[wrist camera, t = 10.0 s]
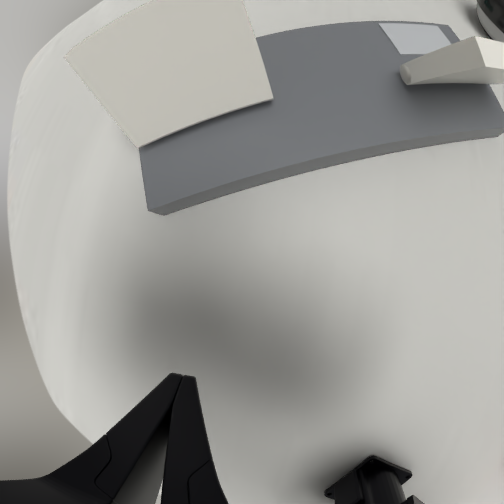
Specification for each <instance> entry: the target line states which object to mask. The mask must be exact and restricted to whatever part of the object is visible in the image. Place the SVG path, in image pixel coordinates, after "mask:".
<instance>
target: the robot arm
mask: <svg viewBox="0 0 504 504" xmlns="http://www.w3.org/2000/svg"><path fill="white" fill-rule="evenodd" d="M372 460H373V461H372ZM370 461H371V462H370ZM411 477H412V473H411V471H408V470H406V469H403V468H401V467H398V466H396V465H394V464H391V463H389V462H387V461H385V460H382V459H380V458H378V457H376V456H371V457H369V458H367V459H366V460H365V461H364V462H363V463H361V464H360V465H359V466H358V467H356V468H355V469H354V470H353V471H351V472H350V473H349V474H347V475H346V476H345V477H343V478H342V479H341V480H339V481H338V482H337V483H335V484H334V485H332V486H331V487H329V488H328V489H327V490H325V492H324V495H325V496H326V497H329V498H331V499H334V500H335V504H424V503H423V502H422V501H420V500H419V499H418V498H417V497H415V496H414V495H412V496H410V497H408V498H407V500H406V498H405V495H404V492H403V489H402V486H401V485H402V484H404V483H405V482H406V481H407V480H409V479H410V478H411ZM162 480H163V484H162V494H161V504H229V503H228V501H227V499H226V497H225V495H224V493H223V490H222V488H221V485H220V483H219V480H218V476H217V473H216V470H215V466H214V462H213V458H212V454H211V450H210V446H209V441H208V437H207V433H206V428H205V423H204V419H203V414H202V409H201V404H200V399H199V393H198V388H197V382H196V378H195V377H194V376H188V375H184V376H183V375H181V374H176V373H170V374H169V375H168V376H167V377H166V378H165V379H164V380H163V381H162V382H161V383H160V384H159V385H158V386H157V387H155V388H154V389H153V390H152V391H151V392H150V393H149V394H148V395H147V396H146V397H145V398H144V399H143V400H142V401H141V402H140V403H138V404H137V405H136V406H135V407H134V408H133V409H132V410H131V411H130V412H129V413H128V414H127V415H126V416H124V417H123V418H122V419H121V420H120V421H119V422H118V423H117V424H116V425H115V426H114V427H112V428H111V429H110V430H109V431H108V432H107V433H106V435H103V436H102V437H101V438H100V439H99V440H98V441H97V442H96V443H94V444H93V445H92V446H91V447H90V448H88V449H87V450H86V451H84V452H83V453H81V454H80V455H79V456H77V457H75V458H74V459H72V460H71V461H69V462H68V463H66V464H65V465H63V466H61V467H60V468H58V469H57V470H55V471H53V472H52V473H50V474H48V475H46V476H43V477H40V478H34V479H24V480H7V481H6V480H5V481H0V504H155V502H156V499H157V496H158V493H159V489H160V486H161V483H162Z"/></svg>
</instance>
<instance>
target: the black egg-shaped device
mask: <svg viewBox="0 0 504 504" xmlns="http://www.w3.org/2000/svg"><path fill="white" fill-rule="evenodd" d="M477 14H478V18H479V20H480V22H481V24H482V26H483V28H484V29H485V31H486V32H487V33H488V35H489V36H490V37H491V38H492V39H493V40H495V41H499V42H503V43H504V0H477Z"/></svg>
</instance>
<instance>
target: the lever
mask: <svg viewBox="0 0 504 504" xmlns="http://www.w3.org/2000/svg"><path fill="white" fill-rule="evenodd" d="M400 74H401V77H402V80H403V81H404V83H406V84H407V85H414V84H434V83H473V84H503V83H504V43H503V42H499V41H495V40H491V39H487V38H482V37H477V36H474V37H471V38H468V39H465V40H462V41H459V42H456V43H453V44H451V45H448V46H445V47H443V48H440V49H438V50H435V51H433V52H430V53H428V54H425V55H423V56H420V57H418V58H416V59H413V60H411V61H409V62H406V63H404V64H402V65H401V67H400Z"/></svg>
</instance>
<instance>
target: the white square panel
mask: <svg viewBox="0 0 504 504" xmlns="http://www.w3.org/2000/svg"><path fill="white" fill-rule="evenodd" d="M64 58H65V59H66V61H67V62H68V63H69V65H70V66H71V67H72V68H73V70H74V71H75V72H76V74H77V75H78V76H79V77H80V79H81V80H82V81H83V82H84V84H85V85H86V86H87V87H88V89H89V90H90V91H91V92H92V94H93V95H94V96H95V97H96V99H97V100H98V101H99V102H100V104H101V105H102V106H103V107H104V109H105V110H106V111H107V112H108V114H109V115H110V116H111V117H112V119H113V120H114V121H115V122H116V123H117V125H118V126H119V127H120V128H121V130H122V131H123V132H124V133H125V134H126V136H127V137H128V138H129V139H130V140H131V142H132V143H133V144H134V145H135V147H136V148H141V147H143V146H145V145H147V144H149V143H152V142H154V141H156V140H158V139H161V138H163V137H165V136H168V135H170V134H173V133H175V132H177V131H180V130H182V129H185V128H187V127H190V126H193V125H195V124H198V123H201V122H203V121H206V120H209V119H212V118H215V117H217V116H220V115H223V114H226V113H229V112H232V111H236V110H239V109H242V108H245V107H249V106H252V105H255V104H259V103H262V102H266V101H270V100H273V99H274V98H273V94H272V91H271V87H270V84H269V80H268V77H267V73H266V70H265V67H264V63H263V60H262V57H261V54H260V50H259V47H258V44H257V41H256V38H255V35H254V32H253V29H252V26H251V23H250V20H249V17H248V14H247V11H246V8H245V5H244V2H243V0H152V1H150V2H148V3H146V4H143V5H141V6H139V7H138V8H136V9H134V10H132V11H130V12H128V13H126V14H124V15H123V16H121V17H119V18H117V19H116V20H114V21H112V22H110V23H109V24H107V25H105V26H104V27H102V28H101V29H99V30H98V31H96V32H94V33H93V34H91V35H90V36H88V37H87V38H86V39H84V40H83V41H81V42H80V43H78V44H77V45H76V46H74V47H73V48H72V49H71V50H70V51H69V52H68V53H67V54H66V55H65V56H64Z"/></svg>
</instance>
